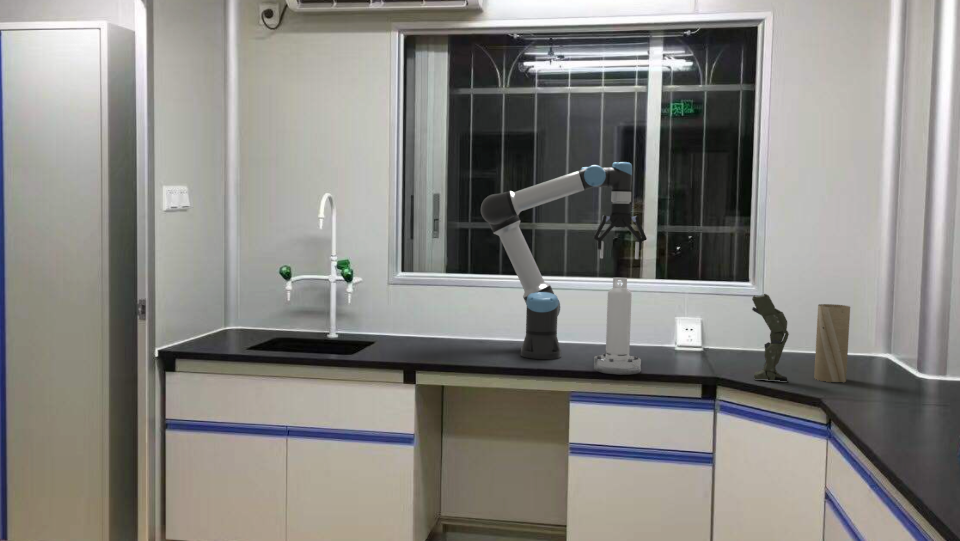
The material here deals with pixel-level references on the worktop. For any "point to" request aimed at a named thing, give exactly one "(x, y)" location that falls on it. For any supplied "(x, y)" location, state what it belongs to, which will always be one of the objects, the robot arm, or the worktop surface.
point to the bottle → (618, 321)
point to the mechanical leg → (771, 337)
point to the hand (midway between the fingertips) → (619, 258)
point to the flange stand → (617, 365)
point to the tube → (832, 342)
